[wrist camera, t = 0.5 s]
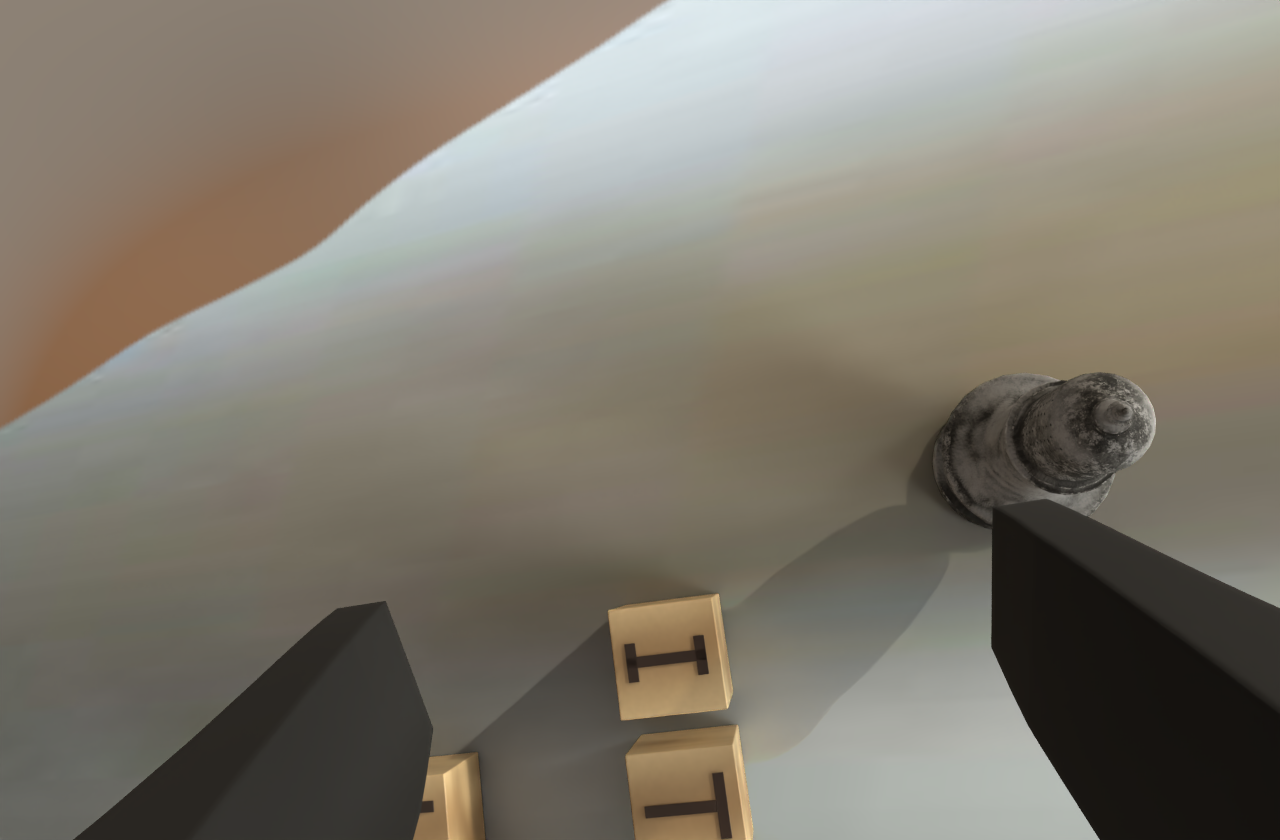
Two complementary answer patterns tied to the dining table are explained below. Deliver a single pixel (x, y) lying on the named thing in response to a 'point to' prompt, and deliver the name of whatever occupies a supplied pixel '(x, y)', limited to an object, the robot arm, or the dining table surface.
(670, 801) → the tile
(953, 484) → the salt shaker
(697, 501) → the dining table surface
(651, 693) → the tile
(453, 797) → the tile
